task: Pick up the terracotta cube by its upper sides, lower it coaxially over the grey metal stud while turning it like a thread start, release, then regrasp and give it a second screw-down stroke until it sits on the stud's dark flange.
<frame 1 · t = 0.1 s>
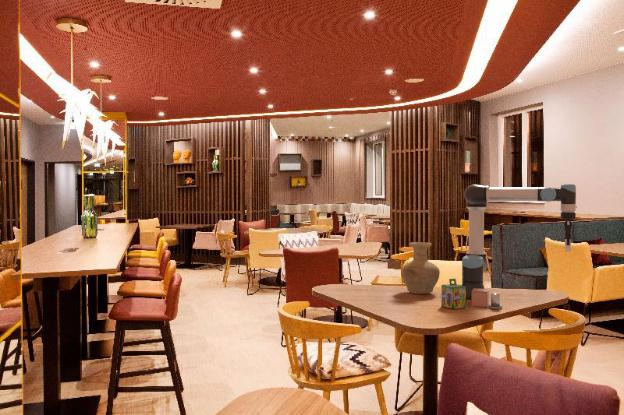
hand: (567, 250, 295), 28 cm above the table, fingers open, 13 cm apart
vase: (420, 293, 316), on the table
stud: (495, 308, 274), on the table
chalk box: (453, 307, 276), on the table
terracotta cube: (480, 304, 282), on the table
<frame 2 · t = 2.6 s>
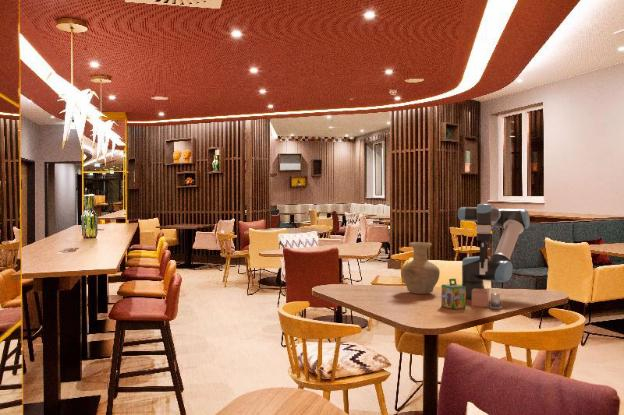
hand: (483, 272, 282), 17 cm above the table, fingers open, 13 cm apart
nothing on the table moved.
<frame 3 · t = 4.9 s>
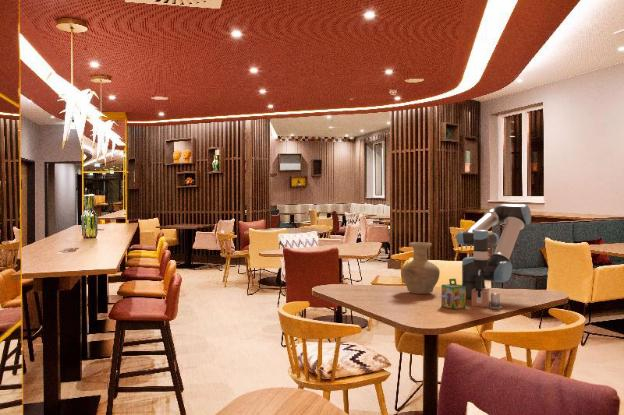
hand: (480, 301, 282), 2 cm above the table, fingers closed on terracotta cube, 8 cm apart
terracotta cube: (480, 304, 282), on the table, touching gripper
everything else where it was.
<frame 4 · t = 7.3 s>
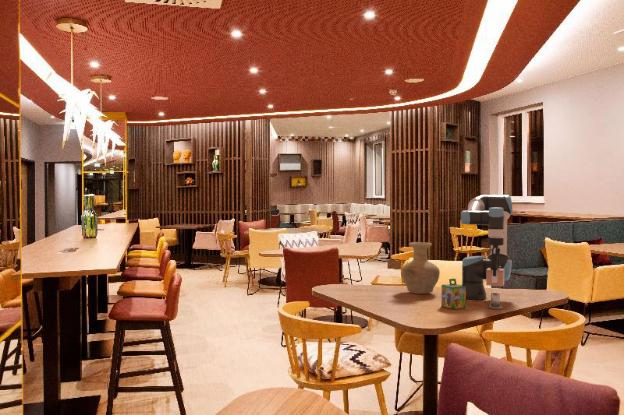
hand: (495, 281, 273), 14 cm above the table, fingers closed on terracotta cube, 8 cm apart
terracotta cube: (495, 284, 274), point 12 cm above the table, touching gripper
everything else where it was.
when the fingers open (5 cm above the table, at t = 9.9 s): terracotta cube drops 2 cm, resting on stud.
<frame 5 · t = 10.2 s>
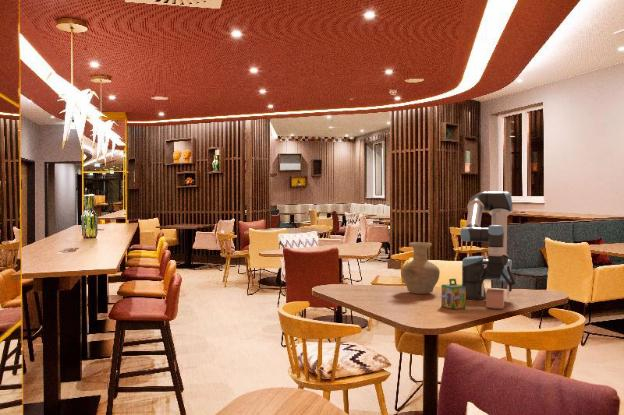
hand: (495, 296, 274), 6 cm above the table, fingers open, 12 cm apart
terracotta cube: (495, 306, 274), point 1 cm above the table, touching stud
everything else where it was.
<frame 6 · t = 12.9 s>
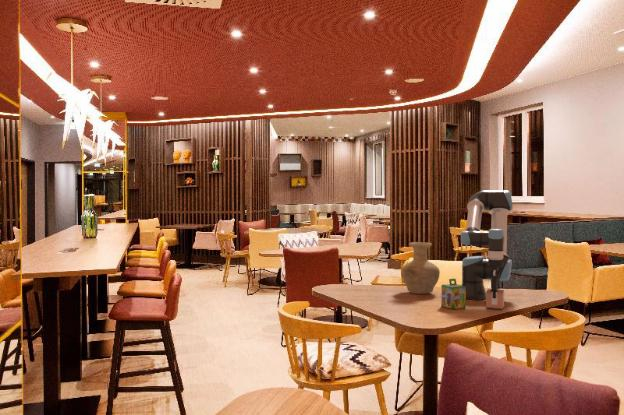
hand: (495, 302, 274), 3 cm above the table, fingers closed on terracotta cube, 8 cm apart
terracotta cube: (495, 306, 274), point 1 cm above the table, touching gripper, stud
everything else where it was.
when the fingers open (3 cm above the table, at t = 14.5 s): terracotta cube stays where it is, resting on stud.
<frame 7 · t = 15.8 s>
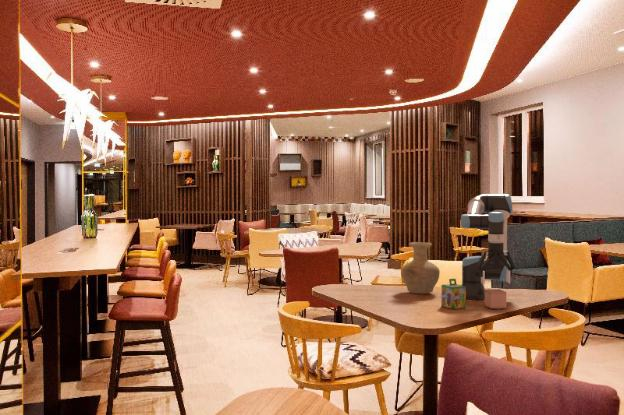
hand: (495, 282, 274), 13 cm above the table, fingers open, 13 cm apart
terracotta cube: (495, 306, 274), point 1 cm above the table, touching stud
everything else where it was.
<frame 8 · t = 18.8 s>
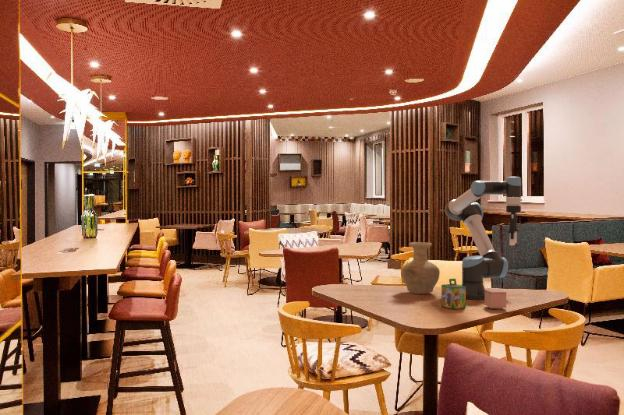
hand: (513, 244, 289), 32 cm above the table, fingers open, 13 cm apart
nothing on the table moved.
at the end: terracotta cube 0.1 cm off-centre on the stud, point 1.0 cm above the stud's base; terracotta cube tilted 0°; the gripper is holding nothing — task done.
